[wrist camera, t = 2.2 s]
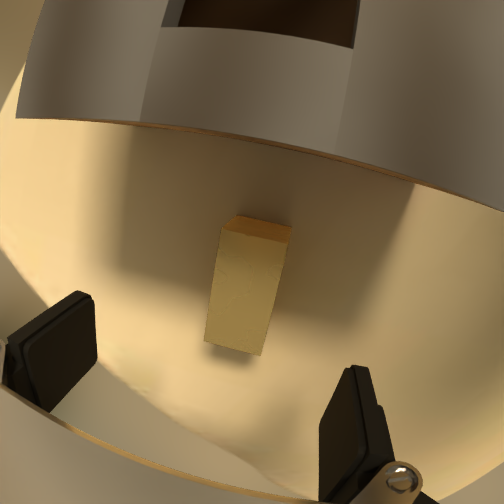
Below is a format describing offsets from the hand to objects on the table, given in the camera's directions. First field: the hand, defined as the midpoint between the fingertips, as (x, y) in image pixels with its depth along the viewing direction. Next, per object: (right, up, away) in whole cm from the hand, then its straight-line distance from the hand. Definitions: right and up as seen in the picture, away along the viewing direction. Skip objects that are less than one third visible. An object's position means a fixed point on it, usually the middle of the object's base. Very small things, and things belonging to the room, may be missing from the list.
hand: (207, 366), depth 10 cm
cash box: (+4, +16, +3) cm, 17 cm away
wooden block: (+2, +3, +8) cm, 8 cm away
